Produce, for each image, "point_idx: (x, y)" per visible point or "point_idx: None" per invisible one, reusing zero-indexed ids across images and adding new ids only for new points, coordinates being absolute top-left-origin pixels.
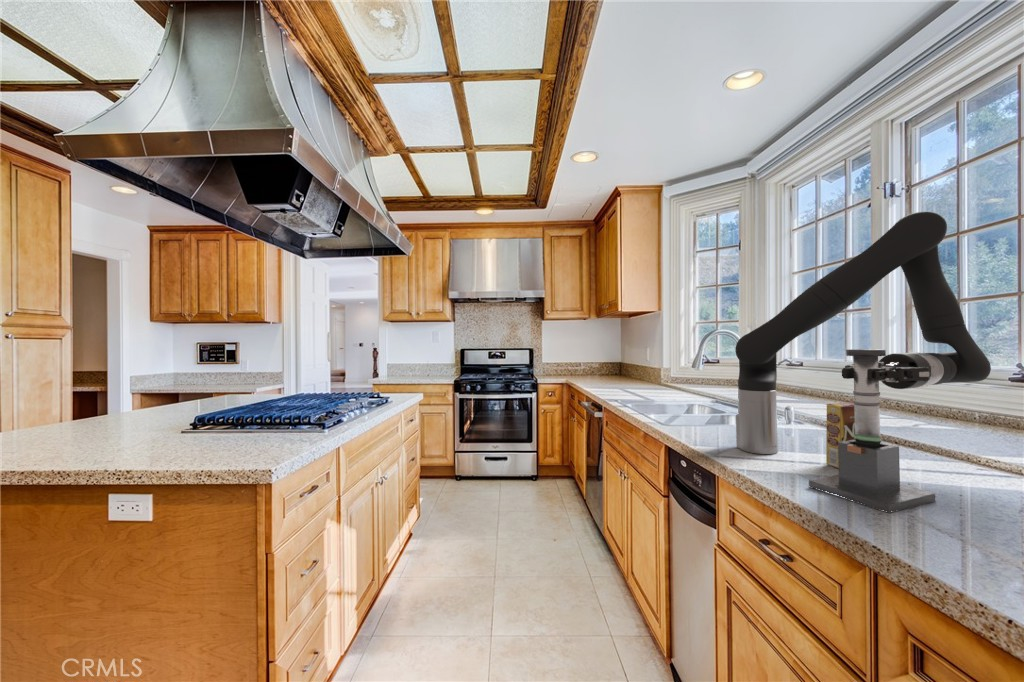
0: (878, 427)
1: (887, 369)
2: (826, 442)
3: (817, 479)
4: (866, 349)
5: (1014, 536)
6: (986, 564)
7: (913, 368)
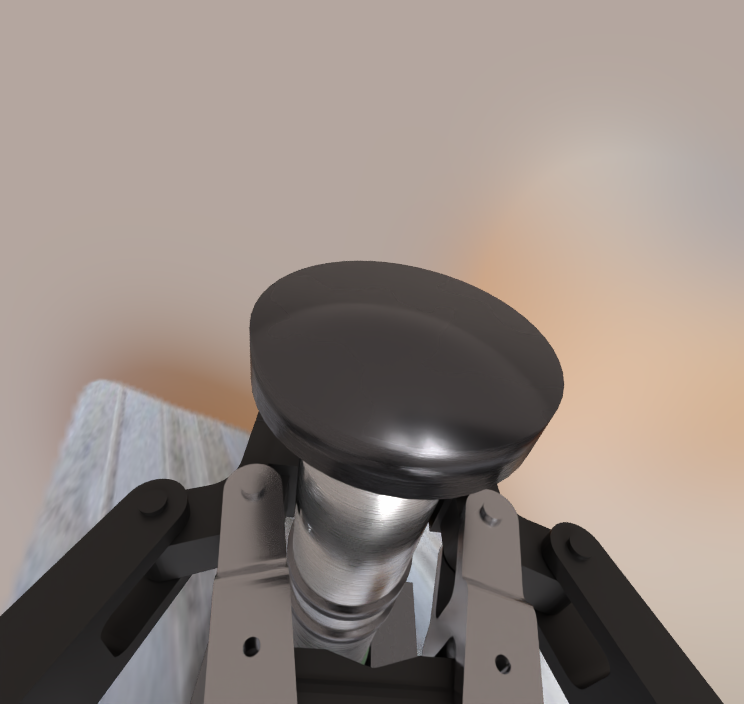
0: None
1: (242, 475)
2: None
3: (410, 613)
4: (451, 380)
5: None
6: (86, 472)
7: (21, 597)
